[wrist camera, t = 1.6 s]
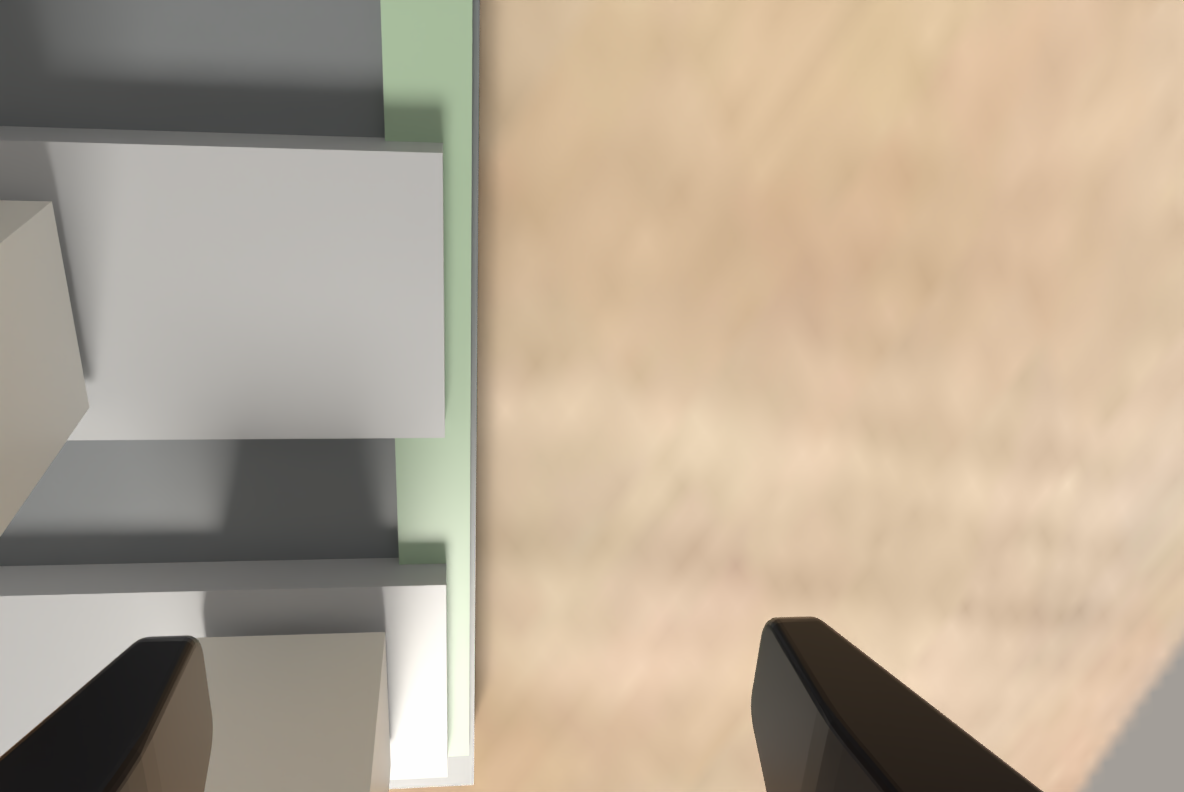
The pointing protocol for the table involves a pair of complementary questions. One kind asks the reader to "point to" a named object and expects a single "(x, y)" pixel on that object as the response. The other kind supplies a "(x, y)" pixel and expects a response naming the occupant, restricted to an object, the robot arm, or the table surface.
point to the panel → (255, 341)
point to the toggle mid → (34, 352)
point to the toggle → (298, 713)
